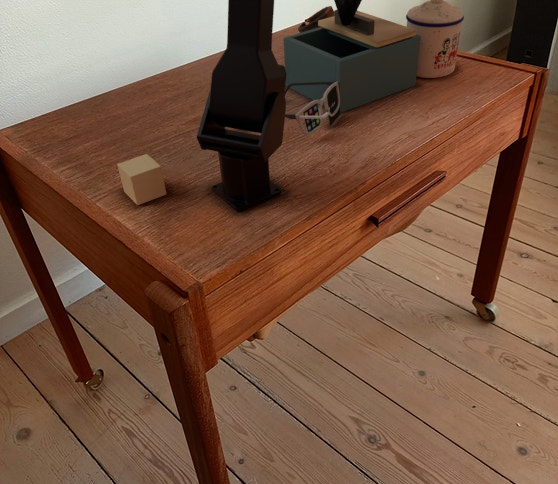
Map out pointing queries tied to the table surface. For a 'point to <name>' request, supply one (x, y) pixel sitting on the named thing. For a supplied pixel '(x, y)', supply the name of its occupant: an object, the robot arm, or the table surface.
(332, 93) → the smart glasses
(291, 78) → the box
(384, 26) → the sliding lid
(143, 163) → the block
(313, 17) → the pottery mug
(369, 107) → the table surface
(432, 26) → the teacup with lid
